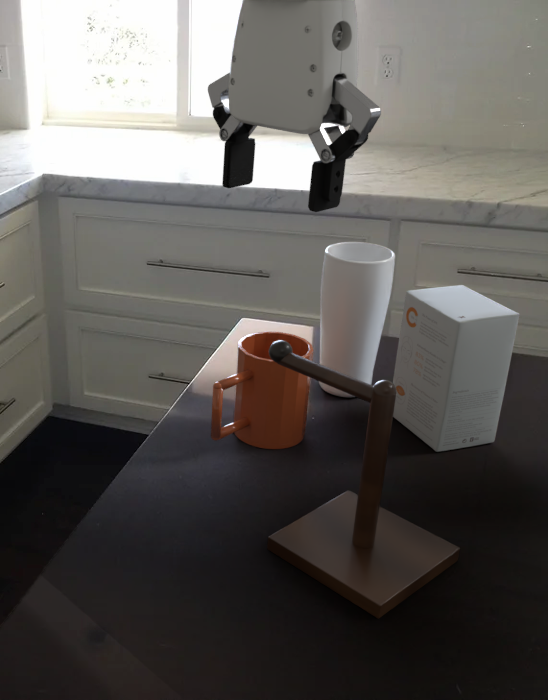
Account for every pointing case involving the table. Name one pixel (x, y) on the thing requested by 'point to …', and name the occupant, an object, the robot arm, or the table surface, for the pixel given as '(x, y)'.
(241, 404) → the mug
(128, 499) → the table surface
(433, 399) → the small box
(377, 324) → the drinking glass
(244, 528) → the table surface
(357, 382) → the mug stand
